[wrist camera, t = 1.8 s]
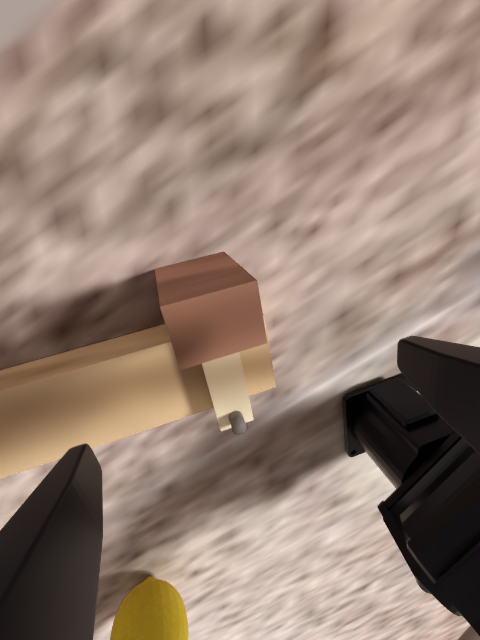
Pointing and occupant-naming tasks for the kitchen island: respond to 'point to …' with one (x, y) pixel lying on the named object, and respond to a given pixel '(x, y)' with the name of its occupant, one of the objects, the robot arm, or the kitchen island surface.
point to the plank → (104, 395)
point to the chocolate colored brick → (214, 327)
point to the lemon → (151, 613)
